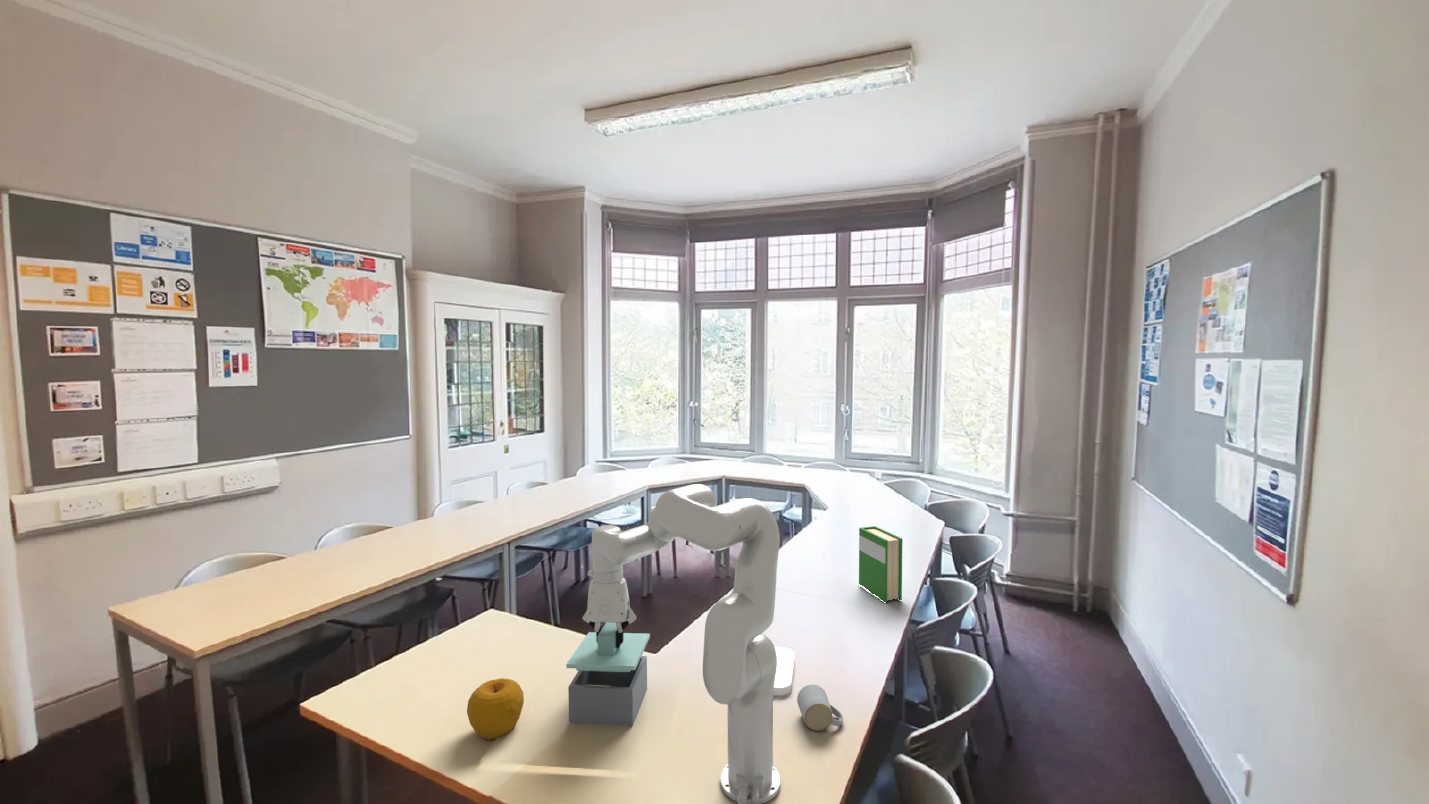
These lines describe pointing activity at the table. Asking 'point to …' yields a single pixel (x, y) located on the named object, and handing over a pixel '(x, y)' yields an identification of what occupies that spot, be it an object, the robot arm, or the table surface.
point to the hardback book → (880, 563)
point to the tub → (607, 696)
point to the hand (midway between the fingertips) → (610, 644)
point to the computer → (784, 671)
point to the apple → (495, 707)
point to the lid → (609, 651)
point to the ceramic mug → (817, 708)
